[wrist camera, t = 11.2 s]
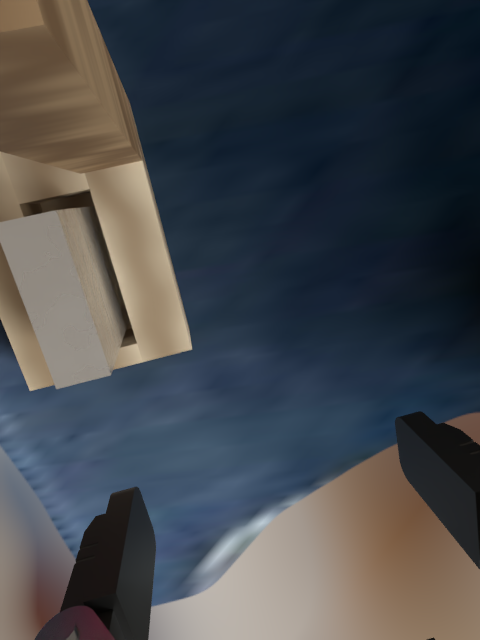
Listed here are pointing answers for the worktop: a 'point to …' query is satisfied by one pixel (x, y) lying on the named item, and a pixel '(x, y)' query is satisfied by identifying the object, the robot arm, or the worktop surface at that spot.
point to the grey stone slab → (68, 291)
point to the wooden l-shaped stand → (79, 172)
